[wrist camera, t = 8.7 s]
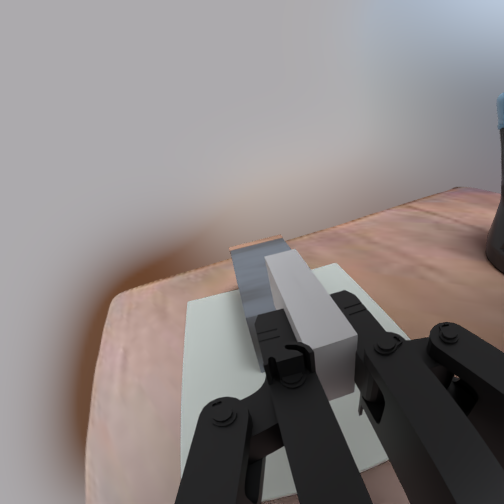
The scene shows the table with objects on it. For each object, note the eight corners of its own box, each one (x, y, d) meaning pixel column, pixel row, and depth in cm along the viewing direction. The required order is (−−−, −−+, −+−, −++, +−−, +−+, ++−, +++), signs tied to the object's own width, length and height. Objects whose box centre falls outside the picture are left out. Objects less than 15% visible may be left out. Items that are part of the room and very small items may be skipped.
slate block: (260, 373, 22) (240, 292, 34) (330, 353, 22) (288, 279, 35) (244, 317, 19) (229, 247, 32) (326, 294, 20) (280, 234, 32)
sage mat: (188, 304, 35) (187, 301, 35) (336, 266, 36) (336, 262, 36) (185, 509, 11) (181, 507, 11) (467, 411, 12) (469, 407, 12)
